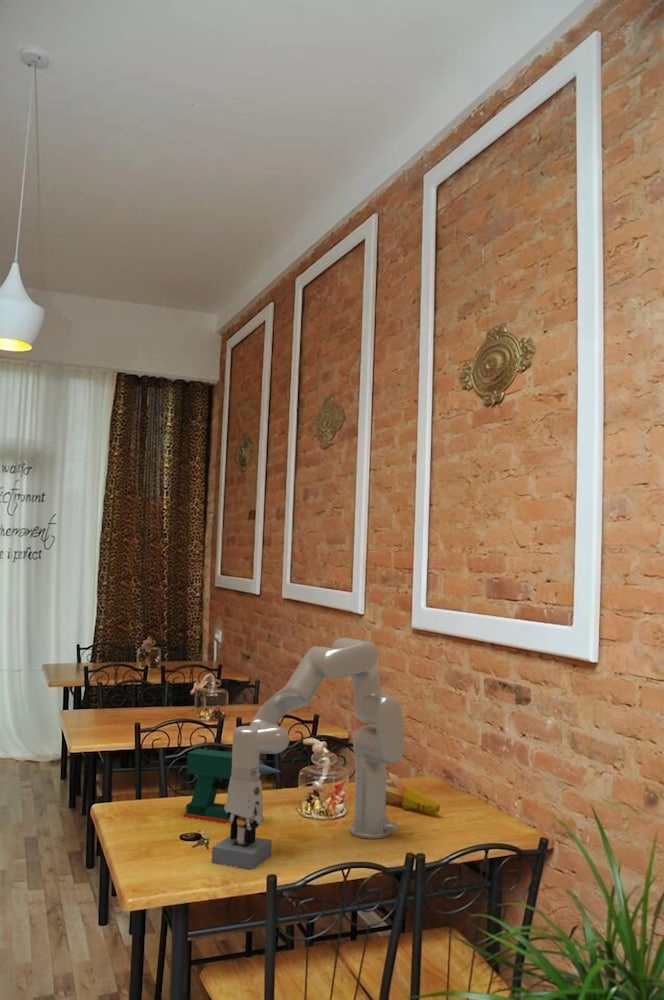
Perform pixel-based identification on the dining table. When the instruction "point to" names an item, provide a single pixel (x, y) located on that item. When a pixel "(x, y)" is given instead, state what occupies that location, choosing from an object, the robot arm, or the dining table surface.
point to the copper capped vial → (241, 831)
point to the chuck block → (241, 853)
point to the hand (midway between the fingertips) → (242, 840)
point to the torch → (409, 797)
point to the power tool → (212, 783)
